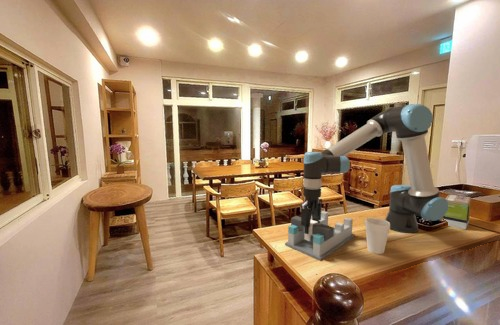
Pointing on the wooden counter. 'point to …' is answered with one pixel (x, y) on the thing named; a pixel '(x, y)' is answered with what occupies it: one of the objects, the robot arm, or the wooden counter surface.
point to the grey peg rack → (320, 238)
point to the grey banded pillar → (314, 227)
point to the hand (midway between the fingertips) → (310, 238)
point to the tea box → (458, 211)
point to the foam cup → (376, 234)
